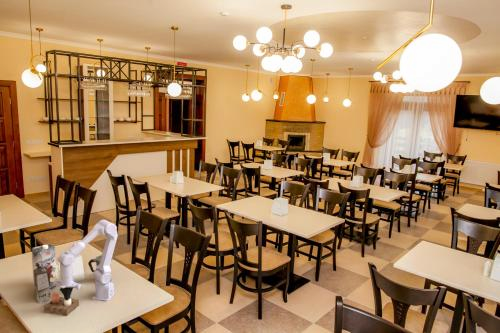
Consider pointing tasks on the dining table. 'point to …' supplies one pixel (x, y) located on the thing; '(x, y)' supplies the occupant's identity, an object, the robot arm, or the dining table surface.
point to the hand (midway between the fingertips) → (67, 299)
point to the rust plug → (55, 298)
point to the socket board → (61, 307)
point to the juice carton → (45, 260)
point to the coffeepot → (96, 262)
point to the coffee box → (42, 284)
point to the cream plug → (67, 302)
